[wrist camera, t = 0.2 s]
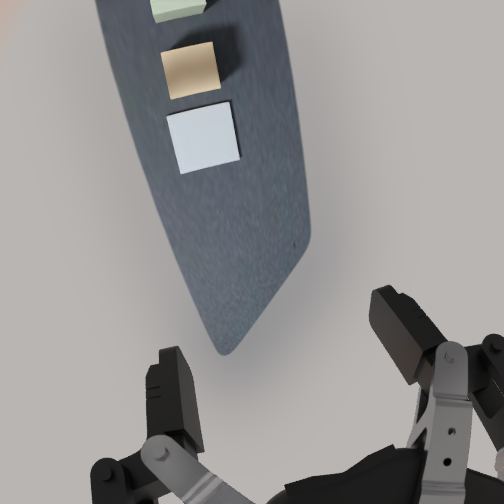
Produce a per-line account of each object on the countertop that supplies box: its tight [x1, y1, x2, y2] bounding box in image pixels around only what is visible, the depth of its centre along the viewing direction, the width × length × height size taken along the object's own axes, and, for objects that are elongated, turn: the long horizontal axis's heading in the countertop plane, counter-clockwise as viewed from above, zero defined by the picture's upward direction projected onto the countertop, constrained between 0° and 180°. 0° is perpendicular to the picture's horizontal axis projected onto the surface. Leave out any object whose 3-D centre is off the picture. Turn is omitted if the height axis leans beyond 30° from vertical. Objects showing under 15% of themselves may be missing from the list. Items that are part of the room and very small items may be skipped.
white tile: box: [167, 102, 240, 174], centre depth 34 cm, size 7×7×1 cm
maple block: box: [161, 42, 221, 99], centre depth 28 cm, size 5×5×4 cm
